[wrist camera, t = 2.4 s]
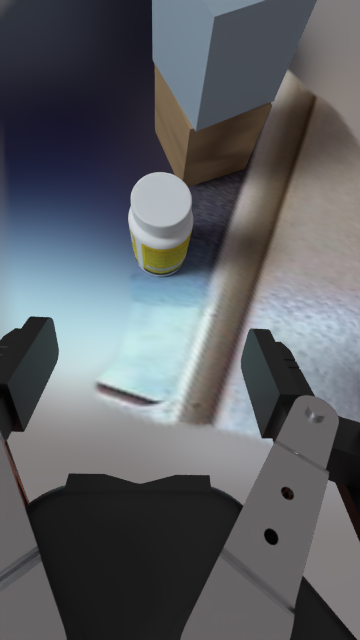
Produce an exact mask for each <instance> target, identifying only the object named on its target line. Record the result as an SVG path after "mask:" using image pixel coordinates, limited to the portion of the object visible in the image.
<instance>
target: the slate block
mask: <svg viewBox="0 0 360 640" xmlns="http://www.w3.org/2000/svg"><path fill="white" fill-rule="evenodd" d="M316 1H317V0H152V14H153V15H152V19H153V21H152V22H153V61H154V63H155V65H156V66H157V68H158V70H159V71H160V73H161V75H162V76H163V78H164V80H165V81H166V83H167V85H168V86H169V88H170V90H171V91H172V93H173V95H174V96H175V98H176V100H177V101H178V103H179V105H180V106H181V108H182V110H183V111H184V113H185V115H186V116H187V118H188V120H189V121H190V123H191V125H192V126H193V128H194V130H195V131H198V130H201V129H204V128H206V127H209V126H211V125H214V124H216V123H219V122H221V121H224V120H226V119H229V118H232V117H234V116H237V115H239V114H242V113H244V112H247V111H249V110H252V109H254V108H257V107H260V106H262V105H265V104H267V103H270V102H272V101H274V99H275V97H276V94H277V92H278V90H279V87H280V85H281V83H282V80H283V78H284V76H285V73H286V71H287V69H288V66H289V64H290V61H291V59H292V57H293V55H294V52H295V50H296V48H297V45H298V43H299V41H300V38H301V36H302V34H303V31H304V29H305V27H306V24H307V22H308V20H309V17H310V15H311V13H312V10H313V8H314V6H315V3H316Z"/></svg>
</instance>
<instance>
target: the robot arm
mask: <svg viewBox="0 0 360 640" xmlns="http://www.w3.org/2000/svg"><path fill="white" fill-rule="evenodd" d="M58 354H59V349H58V343H57V338H56V332H55V327H54V322H53V319H52V318H50V317H29V319H28V320H27V321H26V323H25V324H24V325H23V327H22V328H21V329H18V328H15V329H14V330H12V331H11V332H9V333H8V334H6V335H5V336H3V338H2V339H1V340H0V640H357V639H356V638H355V637H354V635H353V634H352V633H351V632H350V631H349V629H348V628H347V627H346V626H345V625H344V624H343V622H342V621H341V620H340V619H339V618H338V616H337V615H336V614H335V613H334V612H333V611H332V609H331V608H330V607H329V606H328V605H327V603H326V602H325V601H324V600H323V599H322V597H321V596H320V595H319V594H318V593H317V592H316V590H315V589H314V588H313V587H312V586H311V584H310V583H309V582H308V581H307V580H306V579H305V577H304V576H303V572H304V568H305V564H306V560H307V557H308V553H309V549H310V545H311V542H312V538H313V534H314V530H315V527H316V523H317V519H318V515H319V512H320V508H321V504H322V500H323V497H324V493H325V489H326V485H327V481H328V480H330V481H333V482H335V483H336V485H337V488H338V490H339V493H340V495H341V497H342V500H343V502H344V505H345V507H346V510H347V512H348V514H349V517H350V519H351V522H352V524H353V526H354V529H355V532H356V534H357V536H358V539H359V541H360V423H359V422H356V421H352V420H349V419H346V418H342V417H339V416H338V415H337V413H336V411H335V410H334V409H333V408H332V407H331V406H330V405H329V404H328V403H327V402H325V401H324V400H322V399H320V398H317V397H315V396H314V394H313V392H312V390H311V388H310V386H309V384H308V383H307V381H306V379H305V377H304V375H303V373H302V372H301V370H300V369H299V366H298V364H297V362H296V361H295V359H294V357H293V355H292V353H291V351H290V350H289V349H288V348H287V347H286V346H285V345H284V344H283V343H281V342H275V340H274V338H273V336H272V334H271V332H270V330H268V329H250V330H249V332H248V335H247V339H246V343H245V346H244V350H243V354H242V358H241V369H242V373H243V377H244V380H245V383H246V387H247V390H248V393H249V397H250V400H251V404H252V407H253V410H254V414H255V417H256V420H257V424H258V427H259V430H260V434H261V437H262V438H272V439H273V442H274V444H273V446H272V448H271V450H270V453H269V455H268V457H267V459H266V461H265V463H264V465H263V467H262V469H261V471H260V473H259V475H258V477H257V479H256V481H255V483H254V486H253V488H252V490H251V492H250V494H249V496H248V498H247V500H246V502H245V504H244V506H243V505H242V504H241V503H240V502H238V501H237V500H236V499H235V498H233V497H232V496H231V495H229V494H227V493H225V492H224V491H221V490H219V489H217V488H214V487H211V485H210V476H209V475H174V476H170V477H166V478H162V479H158V480H155V481H151V482H147V483H143V484H137V483H133V482H130V481H126V480H123V479H120V478H116V477H113V476H109V475H105V474H69V475H68V479H67V482H66V485H65V486H61V487H58V488H56V489H53V490H50V491H49V492H46V493H45V494H42V495H41V496H39V497H38V498H36V499H35V500H33V501H32V502H30V503H29V500H28V498H27V495H26V493H25V490H24V487H23V484H22V482H21V479H20V476H19V473H18V470H17V467H16V465H15V462H14V459H13V456H12V453H11V450H10V448H9V445H8V442H7V439H8V437H9V435H10V433H11V431H14V432H24V430H25V429H26V427H27V424H28V422H29V420H30V418H31V416H32V414H33V412H34V410H35V407H36V405H37V403H38V401H39V399H40V397H41V394H42V393H43V391H44V389H45V386H46V384H47V382H48V380H49V378H50V376H51V374H52V371H53V369H54V367H55V365H56V363H57V360H58Z"/></svg>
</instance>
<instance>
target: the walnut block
mask: <svg viewBox="0 0 360 640" xmlns="http://www.w3.org/2000/svg"><path fill="white" fill-rule="evenodd" d="M271 107H272V105H271V103H267V104H265V105H262V106H260V107H257V108H254V109H252V110H249V111H247V112H244V113H242V114H239V115H237V116H234V117H232V118H229V119H226V120H224V121H221V122H219V123H216V124H214V125H211V126H209V127H206V128H204V129H201V130H198V131H195V130H194V128H193V126H192V125H191V123H190V121H189V120H188V118H187V116H186V115H185V113H184V111H183V110H182V108H181V106H180V105H179V103H178V101H177V100H176V98H175V96H174V95H173V93H172V91H171V90H170V88H169V86H168V85H167V83H166V81H165V80H164V78H163V76H162V75H161V73H160V71H159V70H158V68H157V66H156V65H155V131H156V133H157V136H158V138H159V140H160V142H161V144H162V147H163V149H164V151H165V153H166V156H167V158H168V160H169V162H170V164H171V167H172V169H173V171H174V173H175V176H177V177H178V178H180V179H181V180H182V181H183V182H184V183H185V184H186V185H187V187H189V186H193V185H196V184H199V183H202V182H205V181H208V180H211V179H214V178H218V177H221V176H224V175H227V174H230V173H233V172H236V171H239V170H242V169H245V167H246V165H247V163H248V160H249V158H250V156H251V153H252V151H253V149H254V146H255V144H256V142H257V139H258V137H259V135H260V132H261V130H262V128H263V125H264V123H265V121H266V118H267V116H268V114H269V112H270V109H271Z"/></svg>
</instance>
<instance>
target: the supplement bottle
mask: <svg viewBox="0 0 360 640" xmlns="http://www.w3.org/2000/svg"><path fill="white" fill-rule="evenodd" d="M191 205H192V197H191V193H190V190H189V188H188V187H187V185H186V184H185V183H184V182H183V181H182V180H181V179H180V178H178V177H177V176H175V175H172V174H169V173H163V172H157V173H151V174H149V175H146V176H144V177H143V178H141V179H140V180H139V181H138V182H137V183H136V185H135V186H134V188H133V191H132V194H131V208H130V211H129V216H128V221H129V228H130V232H131V239H132V245H133V250H134V255H135V259H136V261H137V263H138V265H139V266H140V267H141V268H142V269H143V270H144V271H145V272H147V273H149V274H151V275H153V276H159V277H162V276H168V275H171V274H173V273H175V272H176V271H177V270H178V269H179V268H180V267H181V266H182V264H183V263H184V261H185V258H186V253H187V249H188V245H189V241H190V237H191V232H192V228H193V214H192V211H191Z"/></svg>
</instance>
